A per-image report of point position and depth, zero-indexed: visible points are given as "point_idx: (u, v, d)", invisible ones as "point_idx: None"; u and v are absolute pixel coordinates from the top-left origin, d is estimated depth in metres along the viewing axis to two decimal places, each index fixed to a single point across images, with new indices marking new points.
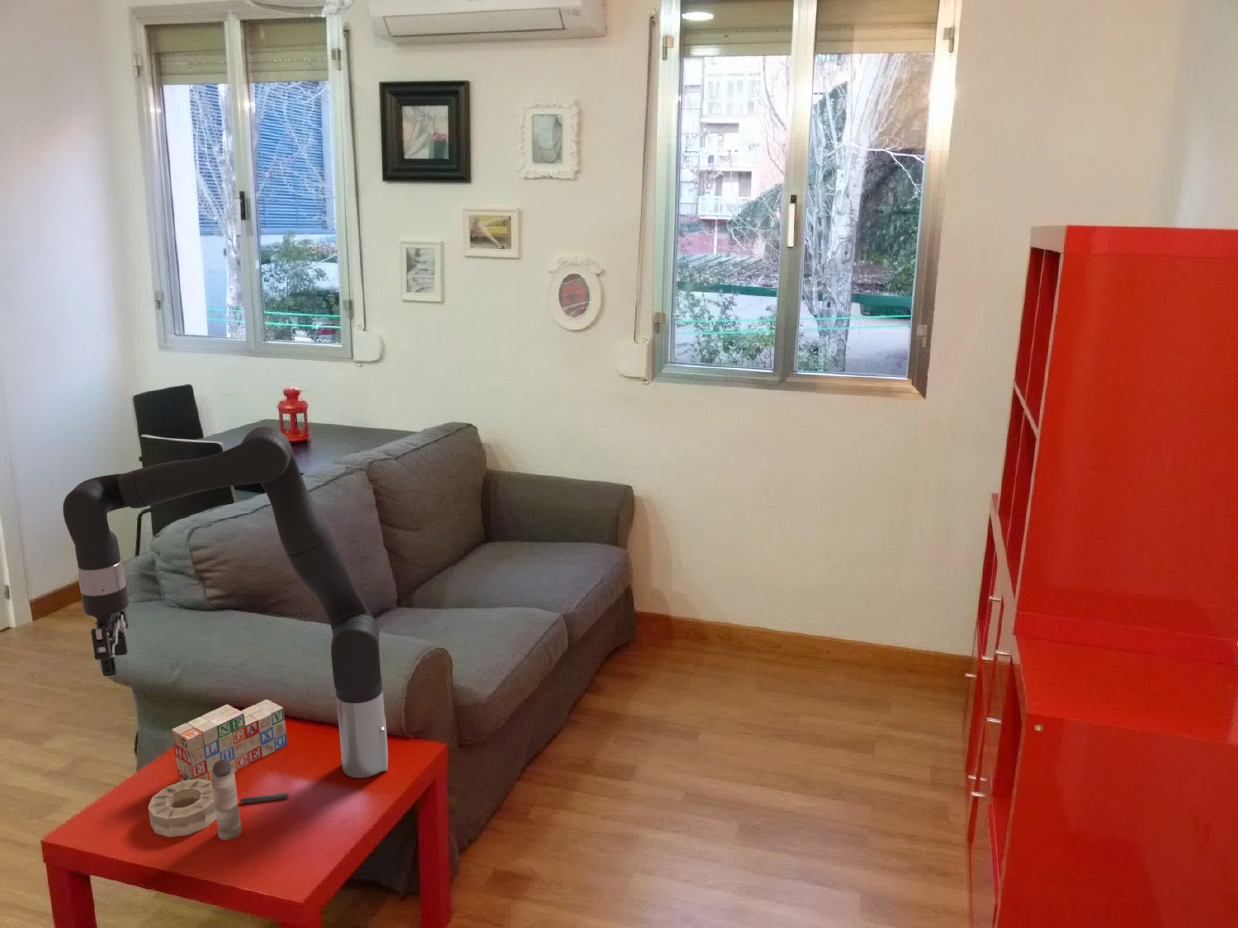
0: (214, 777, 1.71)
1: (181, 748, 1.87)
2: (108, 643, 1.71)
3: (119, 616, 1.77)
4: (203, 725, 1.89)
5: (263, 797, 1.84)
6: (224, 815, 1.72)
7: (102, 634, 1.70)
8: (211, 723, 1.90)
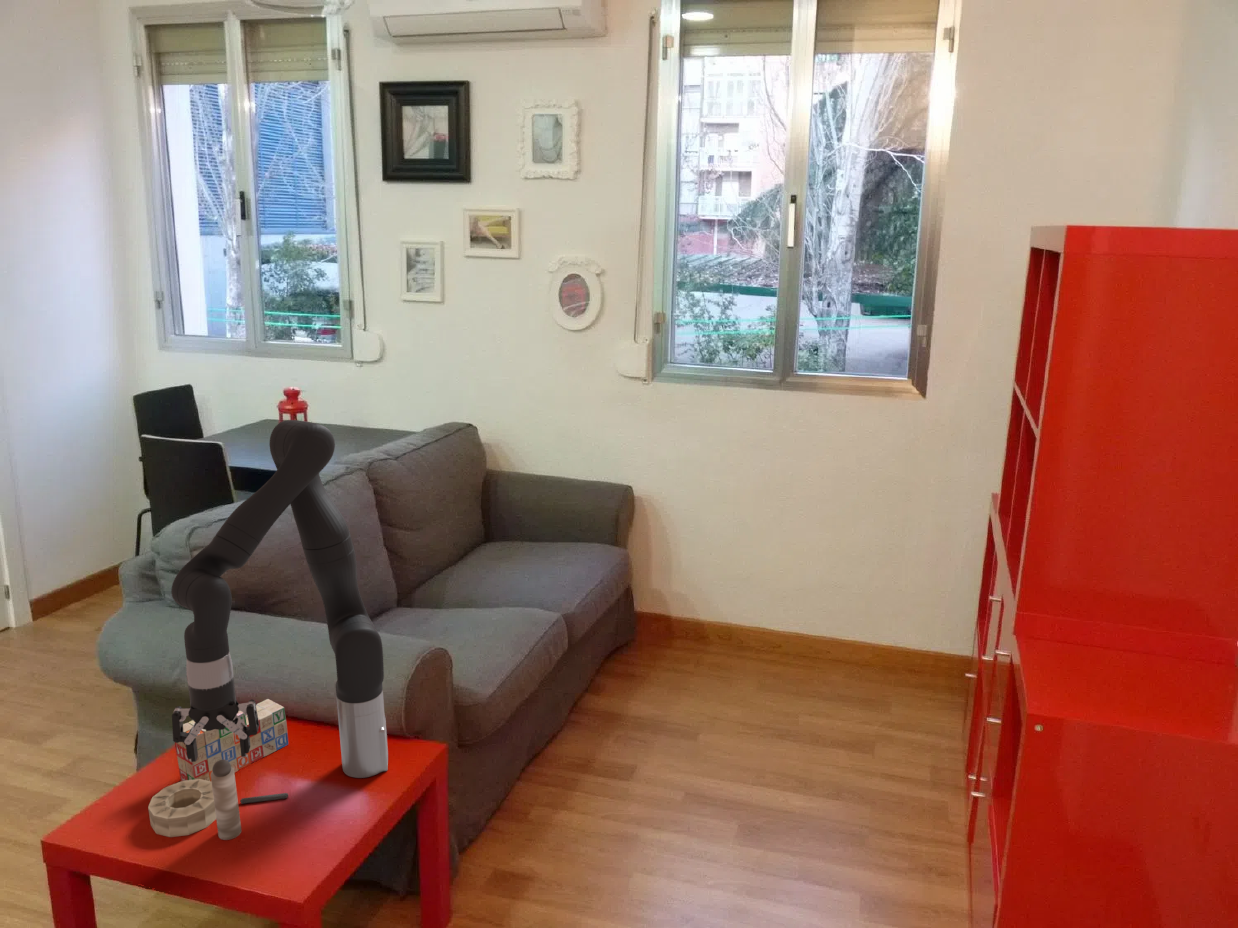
0: (214, 777, 1.71)
1: (183, 748, 1.87)
2: None
3: None
4: None
5: (263, 797, 1.84)
6: (224, 815, 1.72)
7: (255, 705, 1.71)
8: None
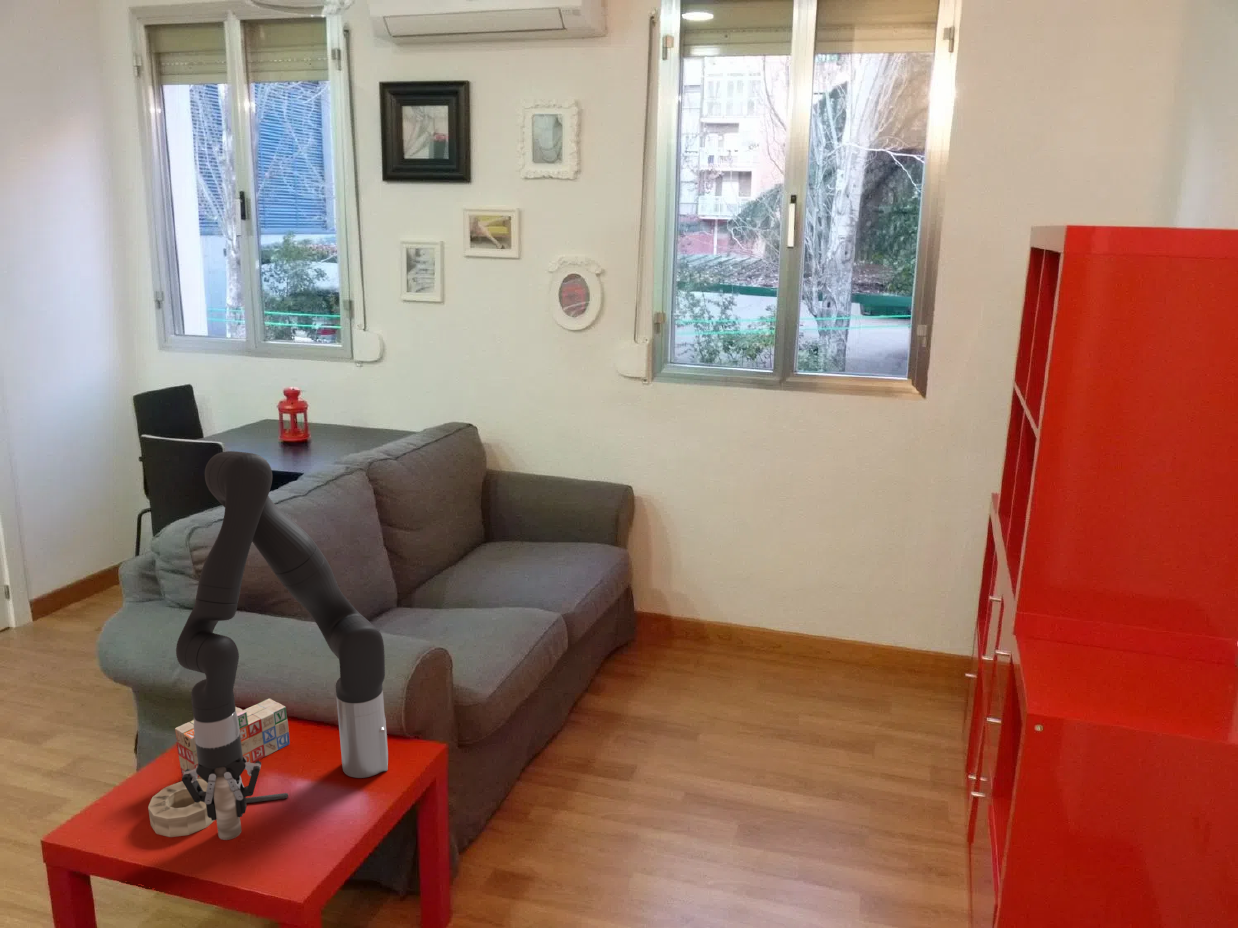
0: None
1: (184, 747, 1.87)
2: None
3: None
4: None
5: (263, 797, 1.84)
6: (224, 815, 1.72)
7: None
8: None
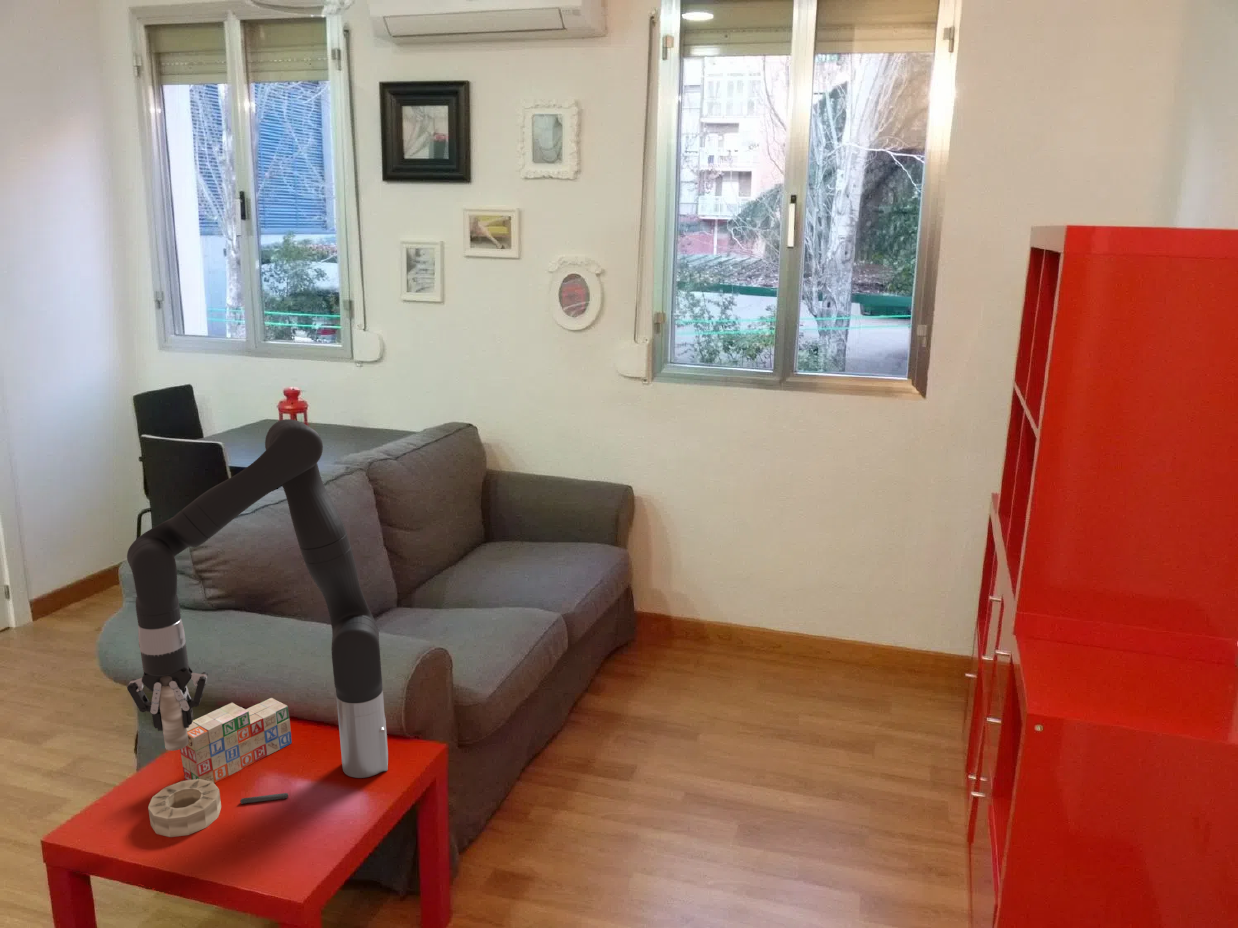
0: None
1: (187, 746, 1.87)
2: None
3: None
4: (209, 724, 1.89)
5: (263, 797, 1.84)
6: (170, 725, 1.73)
7: (206, 679, 1.74)
8: (216, 721, 1.90)
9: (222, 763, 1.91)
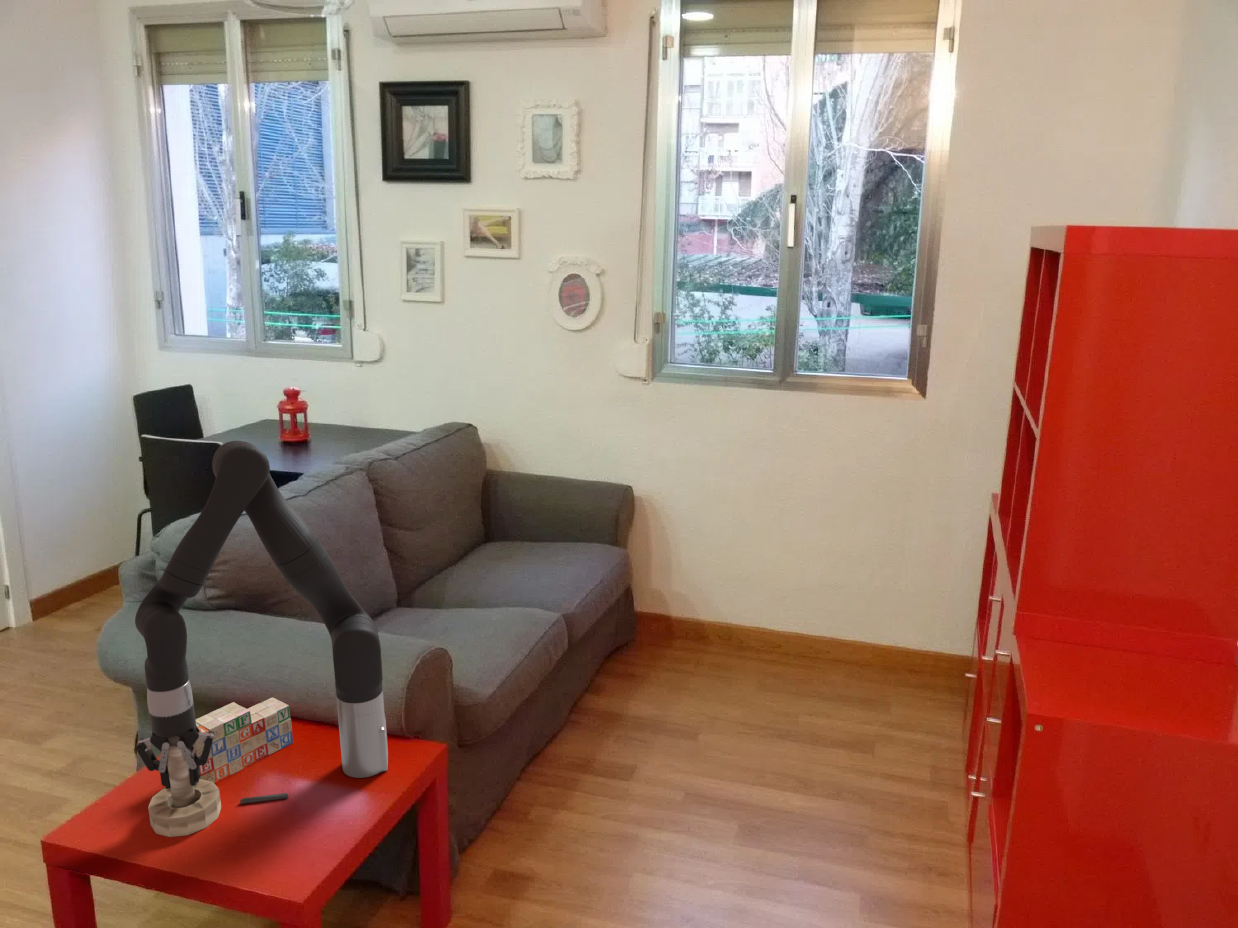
0: None
1: None
2: None
3: None
4: (210, 723, 1.90)
5: (263, 797, 1.84)
6: (177, 784, 1.76)
7: (213, 737, 1.78)
8: (218, 721, 1.91)
9: (223, 762, 1.91)
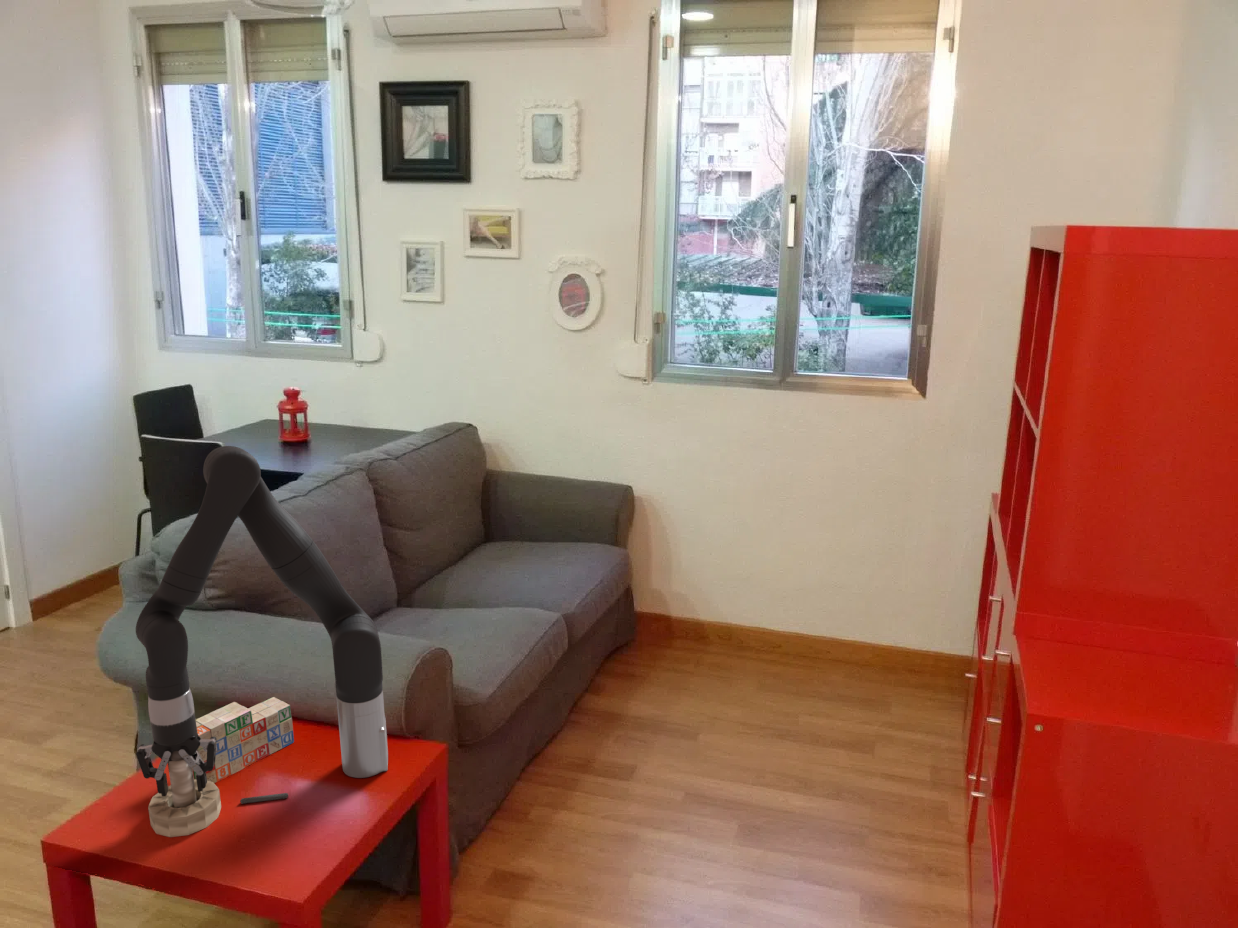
0: (170, 761, 1.75)
1: None
2: None
3: None
4: (211, 723, 1.90)
5: (263, 797, 1.84)
6: (180, 799, 1.77)
7: (215, 742, 1.78)
8: (219, 720, 1.91)
9: (224, 762, 1.92)
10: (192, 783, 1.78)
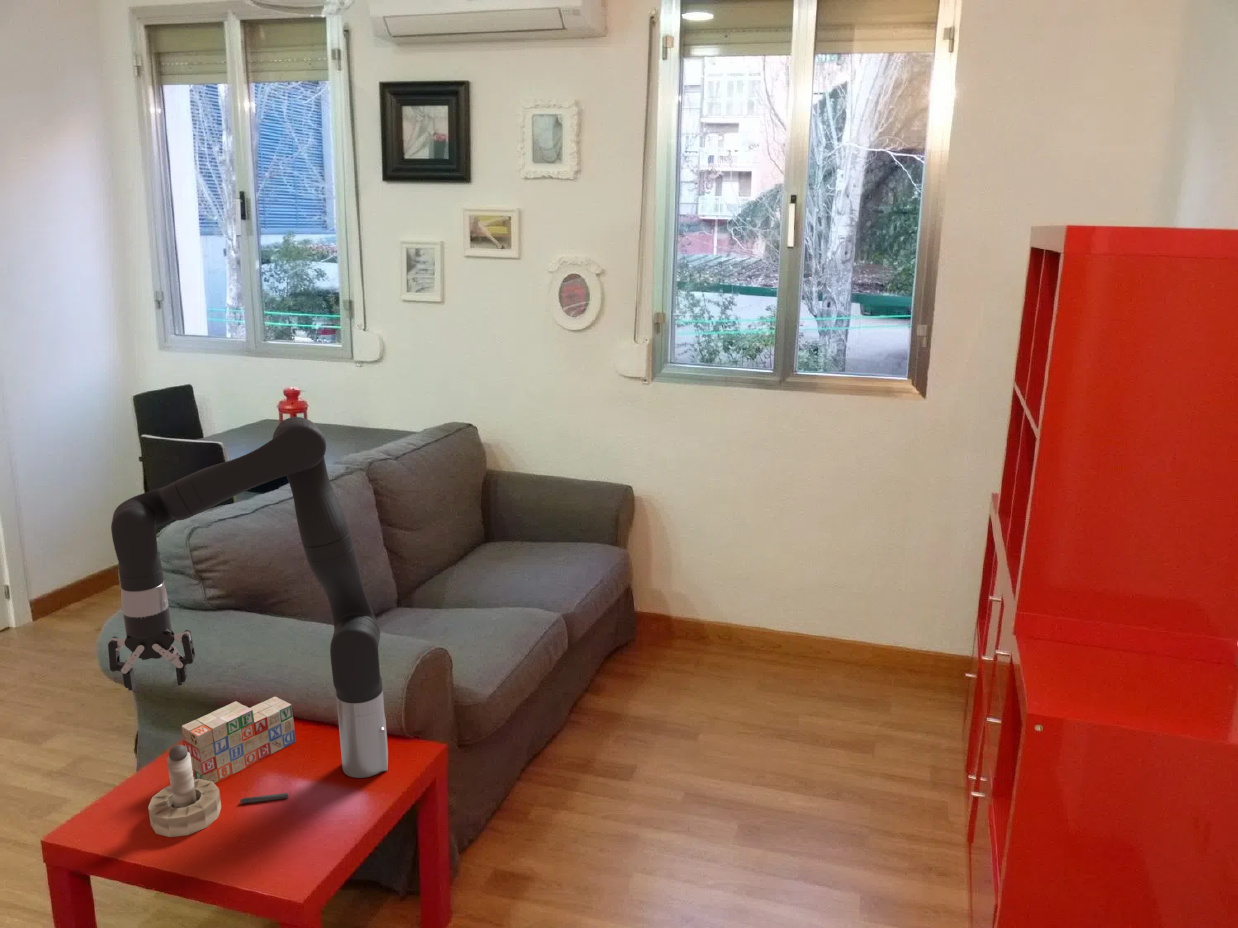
0: (170, 761, 1.75)
1: (191, 745, 1.88)
2: None
3: None
4: (213, 722, 1.90)
5: (263, 797, 1.84)
6: (180, 799, 1.77)
7: (190, 635, 1.76)
8: (220, 720, 1.91)
9: (226, 761, 1.92)
10: (192, 783, 1.78)
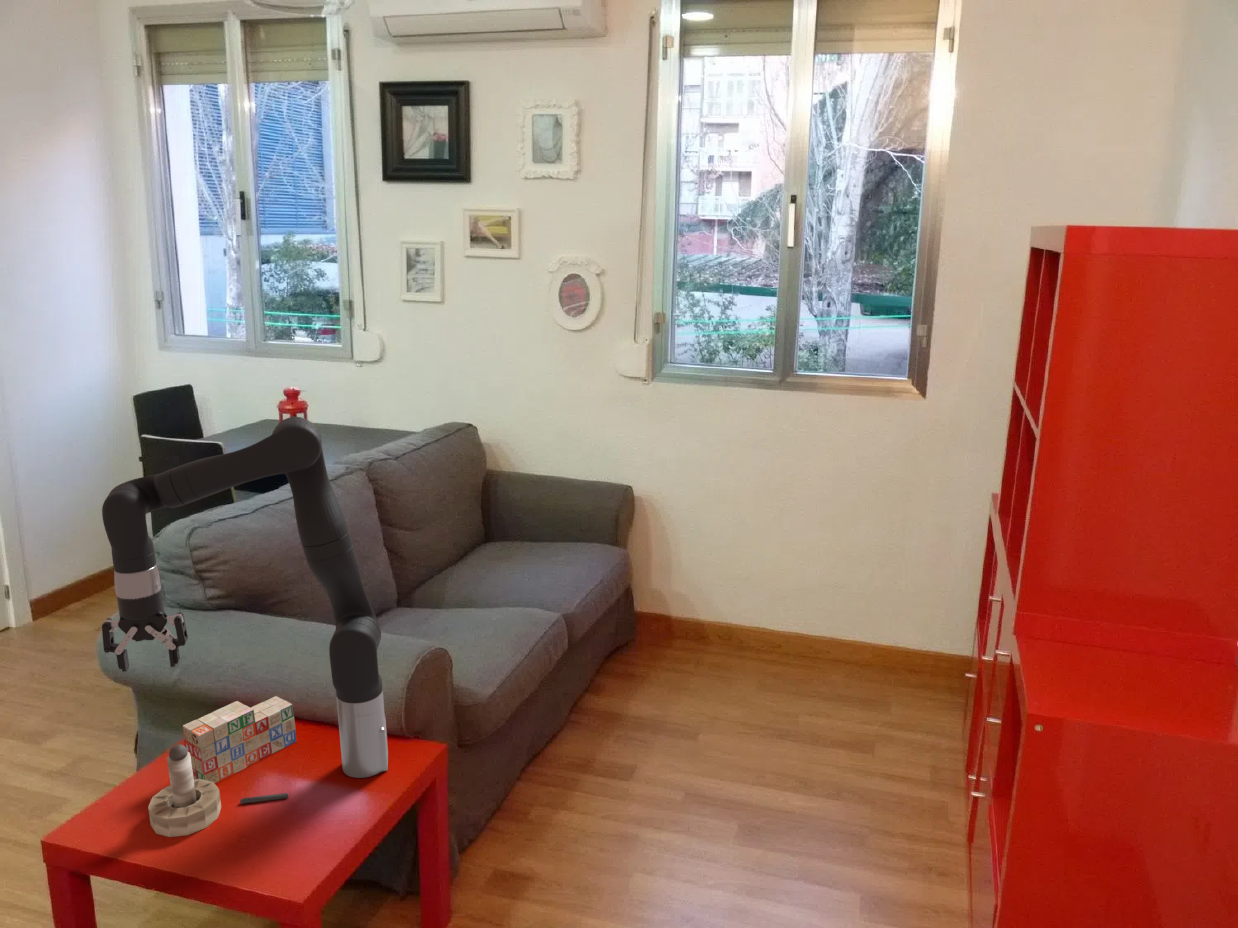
0: (170, 761, 1.75)
1: (192, 744, 1.88)
2: None
3: None
4: (214, 722, 1.90)
5: (263, 797, 1.84)
6: (180, 798, 1.77)
7: (183, 617, 1.78)
8: (221, 719, 1.91)
9: (227, 761, 1.92)
10: (192, 783, 1.78)
